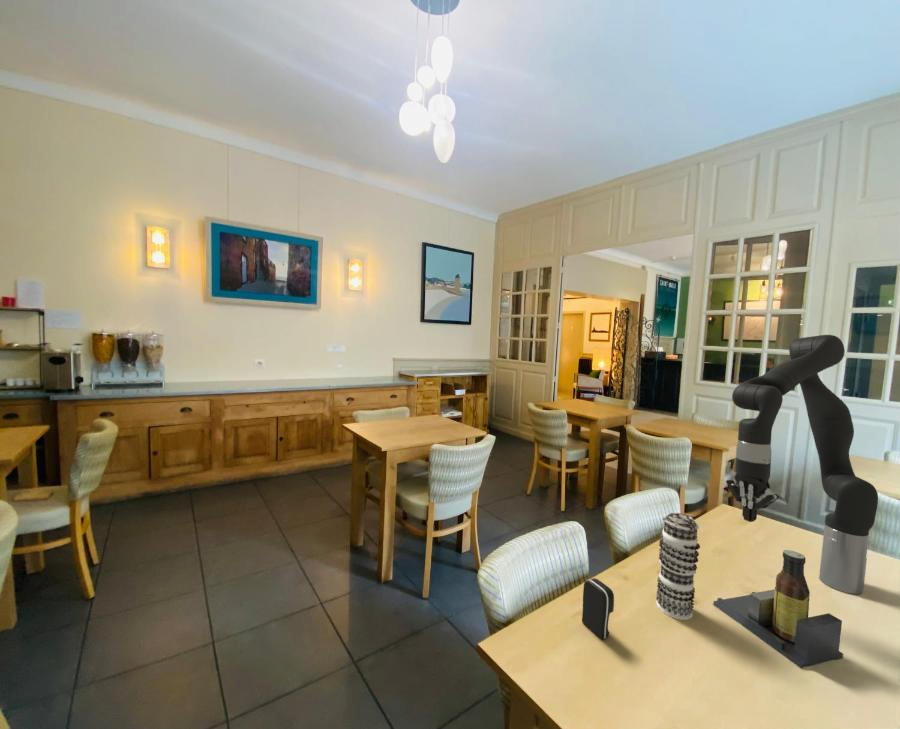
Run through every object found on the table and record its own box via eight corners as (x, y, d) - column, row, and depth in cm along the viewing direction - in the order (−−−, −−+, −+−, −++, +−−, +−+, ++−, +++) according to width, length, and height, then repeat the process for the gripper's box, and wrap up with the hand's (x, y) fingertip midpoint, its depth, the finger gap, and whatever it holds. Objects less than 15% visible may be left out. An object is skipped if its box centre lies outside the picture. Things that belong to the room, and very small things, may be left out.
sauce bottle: (813, 647, 90) (821, 564, 89) (781, 642, 91) (789, 560, 90) (794, 627, 97) (801, 549, 95) (765, 623, 98) (772, 546, 97)
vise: (750, 598, 109) (752, 566, 108) (842, 657, 89) (846, 619, 88) (713, 604, 106) (716, 572, 105) (800, 668, 85) (804, 628, 85)
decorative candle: (691, 603, 106) (699, 513, 104) (697, 625, 97) (705, 528, 96) (653, 593, 109) (660, 506, 108) (655, 613, 101) (662, 519, 100)
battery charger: (614, 636, 93) (617, 590, 92) (602, 641, 91) (605, 594, 90) (591, 617, 99) (594, 573, 98) (580, 621, 97) (583, 577, 96)
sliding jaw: (777, 614, 101) (779, 588, 100) (788, 621, 98) (790, 594, 98) (747, 620, 98) (750, 593, 98) (757, 627, 96) (760, 600, 95)
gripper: (719, 452, 111) (716, 511, 112) (768, 466, 99) (764, 533, 99) (739, 450, 113) (735, 509, 114) (790, 464, 101) (785, 530, 102)
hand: (749, 520), depth 107 cm, fingers closed
